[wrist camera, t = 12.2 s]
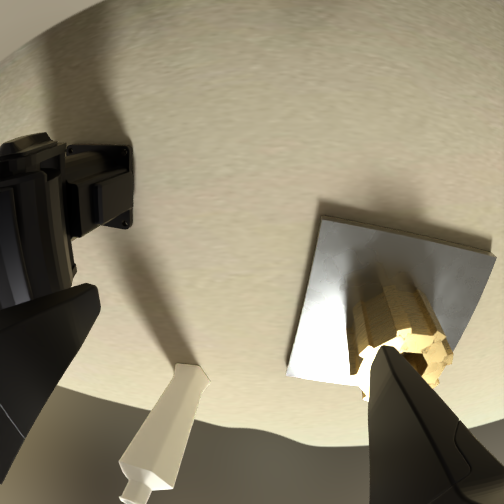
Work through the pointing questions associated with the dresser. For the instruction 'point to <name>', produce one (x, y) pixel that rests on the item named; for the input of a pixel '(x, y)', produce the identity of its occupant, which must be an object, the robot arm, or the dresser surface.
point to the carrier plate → (379, 288)
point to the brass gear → (397, 335)
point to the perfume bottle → (163, 436)
